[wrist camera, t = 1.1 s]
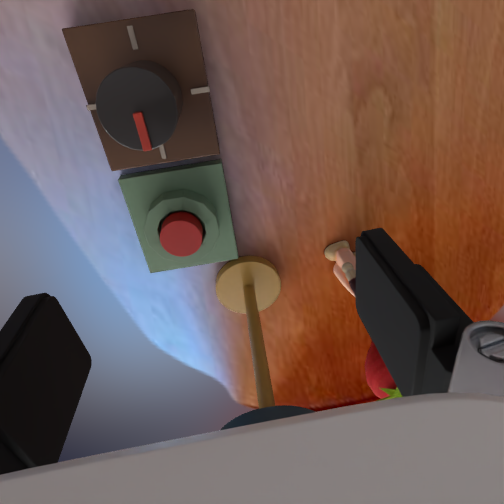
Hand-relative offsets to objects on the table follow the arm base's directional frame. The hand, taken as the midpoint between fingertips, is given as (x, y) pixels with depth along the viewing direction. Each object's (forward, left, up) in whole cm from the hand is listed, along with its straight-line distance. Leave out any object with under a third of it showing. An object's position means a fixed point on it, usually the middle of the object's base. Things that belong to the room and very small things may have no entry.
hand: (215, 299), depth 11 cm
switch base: (+8, -4, -23) cm, 24 cm away
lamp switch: (+8, -4, -20) cm, 22 cm away
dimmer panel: (-3, -4, -23) cm, 23 cm away
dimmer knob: (-3, -4, -21) cm, 21 cm away
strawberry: (+30, +16, -23) cm, 41 cm away
